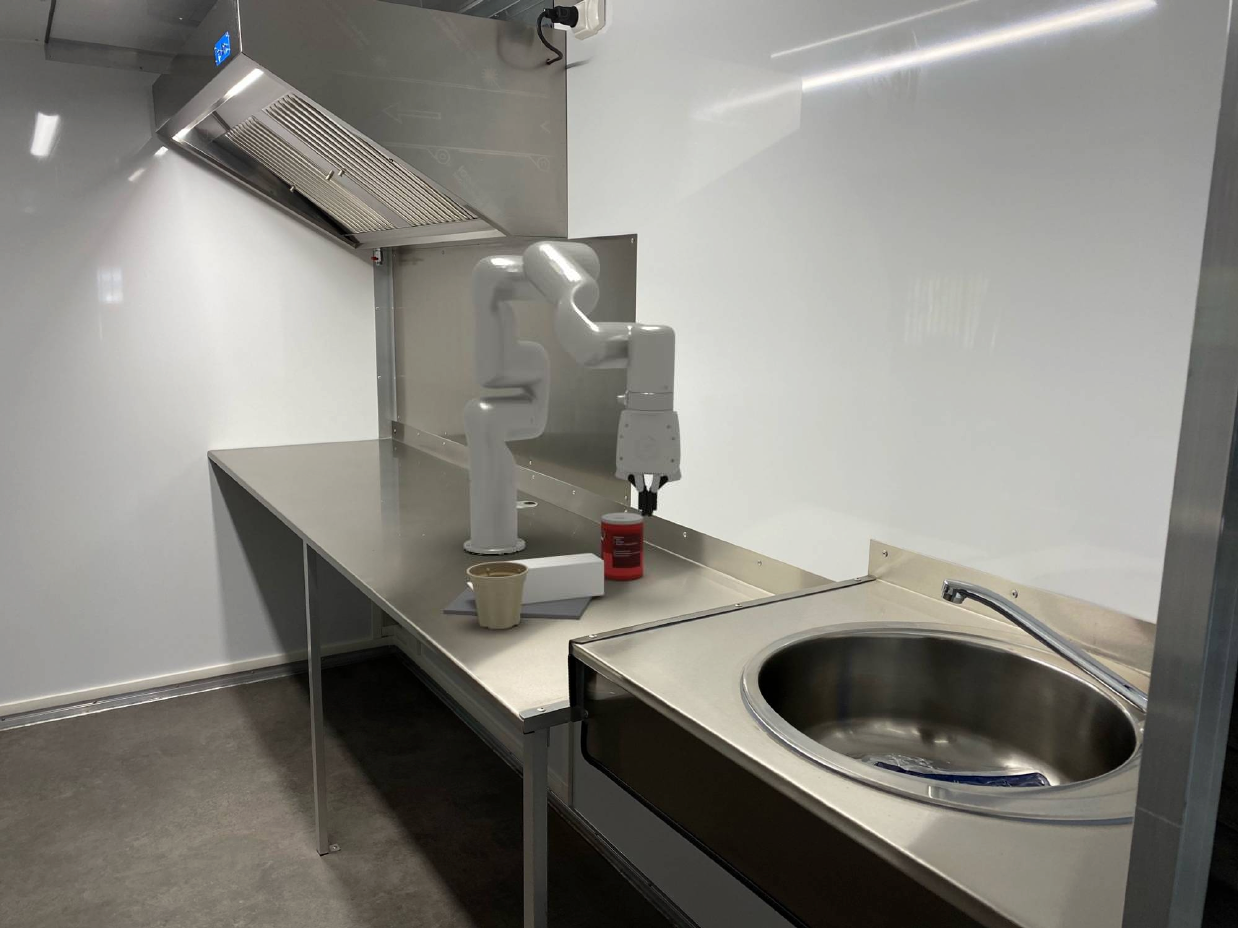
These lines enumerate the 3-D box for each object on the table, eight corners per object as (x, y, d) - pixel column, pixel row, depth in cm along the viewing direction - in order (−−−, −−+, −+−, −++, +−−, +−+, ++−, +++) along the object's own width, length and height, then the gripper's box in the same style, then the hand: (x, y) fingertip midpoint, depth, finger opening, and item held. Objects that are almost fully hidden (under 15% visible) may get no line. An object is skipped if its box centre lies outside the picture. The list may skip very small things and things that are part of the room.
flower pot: (486, 637, 136) (484, 580, 135) (457, 621, 143) (455, 567, 142) (541, 625, 141) (540, 570, 140) (510, 610, 149) (509, 558, 148)
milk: (604, 594, 155) (475, 611, 147) (591, 585, 161) (466, 601, 153) (604, 559, 154) (474, 574, 146) (591, 551, 160) (465, 565, 152)
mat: (479, 580, 167) (479, 576, 167) (600, 584, 164) (600, 581, 164) (443, 613, 147) (443, 609, 147) (579, 619, 144) (579, 615, 144)
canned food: (618, 567, 176) (618, 510, 174) (652, 574, 171) (652, 516, 169) (592, 575, 170) (591, 517, 168) (626, 583, 165) (626, 522, 163)
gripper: (600, 403, 145) (598, 517, 148) (695, 406, 143) (691, 522, 146) (607, 399, 153) (605, 507, 156) (698, 402, 151) (694, 512, 154)
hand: (647, 514), depth 151 cm, fingers closed
